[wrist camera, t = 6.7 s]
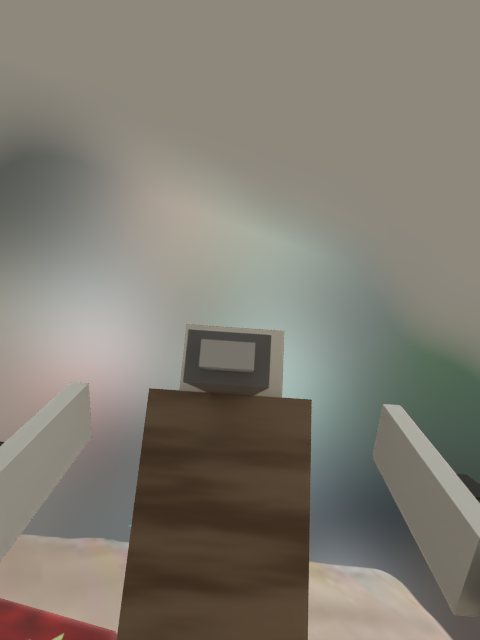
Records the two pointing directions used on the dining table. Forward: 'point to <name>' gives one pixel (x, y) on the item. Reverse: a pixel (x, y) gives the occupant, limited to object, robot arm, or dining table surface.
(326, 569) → the dining table surface
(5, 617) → the hardcover book
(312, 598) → the dining table surface
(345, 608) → the dining table surface
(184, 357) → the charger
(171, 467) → the stand
